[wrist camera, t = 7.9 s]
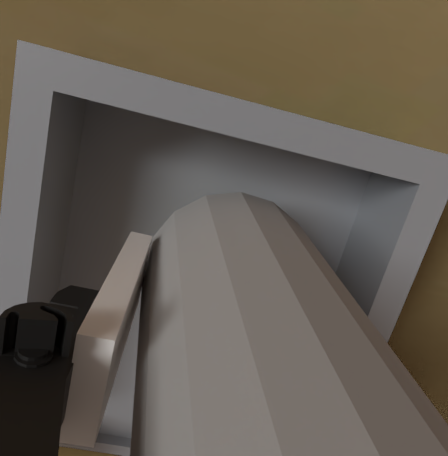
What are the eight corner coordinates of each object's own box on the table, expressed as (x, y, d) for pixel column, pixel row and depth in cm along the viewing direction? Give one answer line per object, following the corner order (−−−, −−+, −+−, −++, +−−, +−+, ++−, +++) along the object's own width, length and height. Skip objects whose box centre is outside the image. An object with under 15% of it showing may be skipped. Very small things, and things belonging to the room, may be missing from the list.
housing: (21, 415, 22) (-33, 510, 17) (69, 56, 17) (11, 37, 12) (282, 456, 24) (305, 554, 19) (398, 144, 19) (472, 160, 14)
